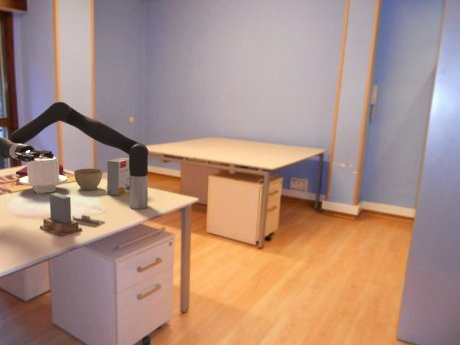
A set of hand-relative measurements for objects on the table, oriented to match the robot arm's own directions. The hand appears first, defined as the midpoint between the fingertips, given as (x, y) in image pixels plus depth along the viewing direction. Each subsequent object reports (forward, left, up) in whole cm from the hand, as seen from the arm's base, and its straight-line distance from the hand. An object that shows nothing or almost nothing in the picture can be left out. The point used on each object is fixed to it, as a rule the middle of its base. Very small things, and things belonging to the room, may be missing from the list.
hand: (43, 157), depth 167 cm
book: (+24, -90, -31) cm, 98 cm away
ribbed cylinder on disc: (+14, -58, -30) cm, 67 cm away
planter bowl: (-10, -62, -30) cm, 70 cm away
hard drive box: (-29, -53, -30) cm, 68 cm away
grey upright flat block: (-8, +8, -29) cm, 31 cm away
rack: (-8, +8, -30) cm, 32 cm away
